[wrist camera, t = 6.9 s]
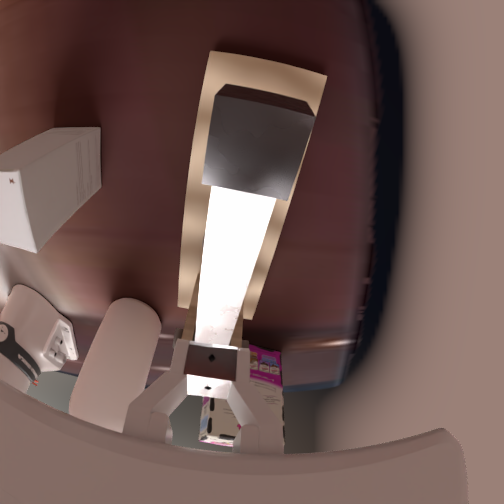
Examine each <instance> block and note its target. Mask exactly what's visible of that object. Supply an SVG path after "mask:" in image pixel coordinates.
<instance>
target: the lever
mask: <svg viewBox="0 0 504 504" xmlns="http://www.w3.org/2000/svg"><path fill="white" fill-rule="evenodd" d="M315 119H316V116H315V115H314V113H313V111H312V109H311V108H310V106H309V104H308V103H307V101H304V100H300V99H296V98H293V97H289V96H285V95H281V94H277V93H272V92H268V91H264V90H259V89H254V88H249V87H244V86H238V85H232V84H225V85H224V86H223V87H222V88H221V89H220V90H219V91H218V92H217V93H216V94H215V97H214V103H213V109H212V115H211V121H210V127H209V134H208V140H207V147H206V154H205V161H204V169H203V177H202V184H205V185H210V186H212V189H211V196H210V203H209V210H208V218H207V226H206V234H205V242H204V250H203V259H202V268H201V278H200V288H199V298H198V309H197V321H196V331H195V335H194V341H195V342H201V343H207V344H216V345H224V346H229V344H230V340H231V336H232V333H233V330H234V327H235V324H236V321H237V318H238V315H239V312H240V309H241V306H242V303H243V300H244V297H245V294H246V291H247V288H248V285H249V282H250V278H251V275H252V272H253V269H254V266H255V263H256V260H257V257H258V254H259V251H260V248H261V245H262V241H263V238H264V235H265V232H266V229H267V226H268V223H269V220H270V217H271V213H272V210H273V207H274V204H275V201H276V199H280V200H285V201H288V198H289V195H290V192H291V190H292V187H293V184H294V181H295V178H296V175H297V172H298V169H299V166H300V164H301V161H302V158H303V155H304V152H305V149H306V146H307V143H308V140H309V137H310V134H311V131H312V128H313V125H314V122H315Z"/></svg>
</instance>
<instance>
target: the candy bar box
mask: <svg viewBox="0 0 504 504" xmlns="http://www.w3.org/2000/svg"><path fill="white" fill-rule="evenodd" d="M249 350H250V383H253V384H254V385H255V387H256V388H257V390H258V391H259V393H260V394H261V396H262V397H263V399H264V400H265V401H266V403H267V404H268V406H269V407H270V409H271V410H272V411H273V413H274V414H275V416H276V417H277V418H278V420H279V421H280V422H281V424H282V425H283V445H284V444H285V430H284V407H283V406H284V405H283V386H282V365H281V352H279V351H275V350H271V349H267V348H262V347H259V346H255V345H251V344H249ZM240 428H241V425H240V424H239V422H238V420H237V418H236V417H235V415H234V413H233V411H232V409H231V408H230V406H229V404H228V402H227V399H219V398H213V397H206V396H203V403H202V411H201V420H200V429H199V438H198V441H201V442H207V443H212V444H218V445H225V446H232V447H233V441H234V439H235V437H236V435H237V434H238V432H239V430H240Z"/></svg>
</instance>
